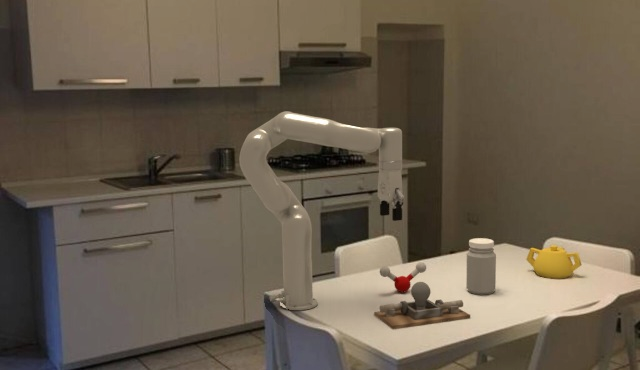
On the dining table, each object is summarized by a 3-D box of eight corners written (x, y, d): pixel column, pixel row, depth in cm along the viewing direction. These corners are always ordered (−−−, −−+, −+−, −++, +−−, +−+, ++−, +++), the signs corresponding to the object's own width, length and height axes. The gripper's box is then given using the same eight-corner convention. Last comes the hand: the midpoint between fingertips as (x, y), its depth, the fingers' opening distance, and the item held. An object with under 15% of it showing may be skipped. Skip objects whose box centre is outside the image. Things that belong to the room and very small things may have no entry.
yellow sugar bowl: (587, 270, 270) (588, 242, 269) (576, 282, 255) (577, 252, 253) (534, 264, 281) (535, 237, 279) (520, 275, 266) (521, 246, 264)
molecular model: (385, 298, 241) (385, 269, 240) (376, 293, 246) (376, 265, 245) (428, 290, 249) (428, 262, 248) (418, 286, 254) (418, 258, 253)
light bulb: (425, 317, 217) (425, 285, 216) (407, 314, 220) (407, 283, 219) (433, 312, 222) (433, 281, 221) (416, 309, 225) (416, 278, 224)
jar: (461, 292, 246) (461, 241, 244) (475, 285, 253) (476, 236, 251) (486, 297, 239) (486, 245, 237) (500, 290, 247) (501, 240, 244)
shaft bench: (393, 329, 211) (392, 312, 210) (374, 315, 224) (374, 299, 223) (470, 318, 219) (470, 302, 218) (447, 305, 232) (447, 289, 231)
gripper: (369, 163, 238) (370, 214, 240) (391, 169, 222) (391, 223, 224) (389, 162, 240) (390, 212, 243) (412, 168, 224) (413, 221, 227)
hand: (390, 217), depth 234 cm, fingers open, 9 cm apart
